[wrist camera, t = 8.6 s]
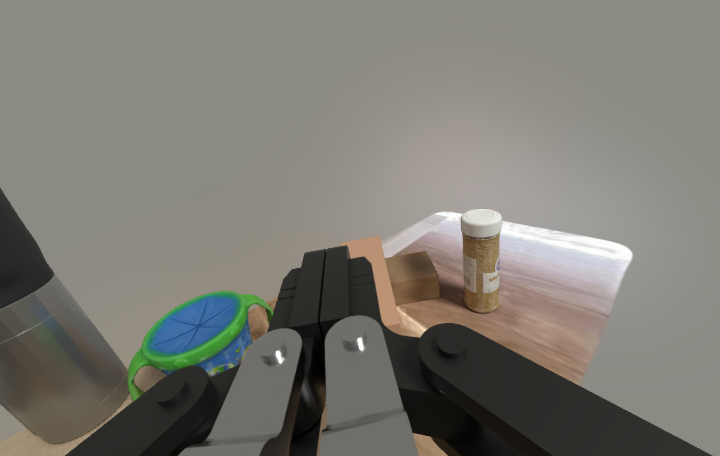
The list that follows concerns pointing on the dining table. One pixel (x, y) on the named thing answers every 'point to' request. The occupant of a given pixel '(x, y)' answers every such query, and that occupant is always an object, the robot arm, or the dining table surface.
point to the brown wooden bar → (413, 278)
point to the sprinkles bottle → (481, 259)
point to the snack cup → (198, 336)
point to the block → (378, 278)
